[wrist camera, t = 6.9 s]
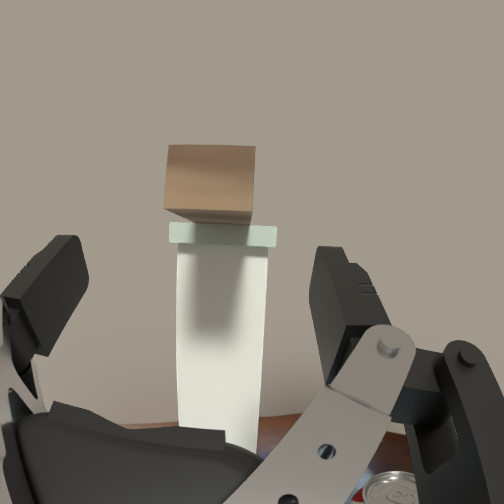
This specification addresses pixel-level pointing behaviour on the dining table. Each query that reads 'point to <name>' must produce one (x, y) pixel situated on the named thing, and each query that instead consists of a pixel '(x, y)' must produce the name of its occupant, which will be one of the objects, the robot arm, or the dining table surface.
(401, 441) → the dining table surface
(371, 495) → the soda can
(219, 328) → the pillar
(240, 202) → the beam
